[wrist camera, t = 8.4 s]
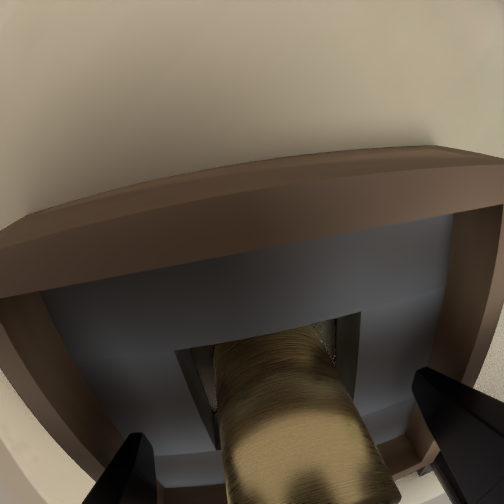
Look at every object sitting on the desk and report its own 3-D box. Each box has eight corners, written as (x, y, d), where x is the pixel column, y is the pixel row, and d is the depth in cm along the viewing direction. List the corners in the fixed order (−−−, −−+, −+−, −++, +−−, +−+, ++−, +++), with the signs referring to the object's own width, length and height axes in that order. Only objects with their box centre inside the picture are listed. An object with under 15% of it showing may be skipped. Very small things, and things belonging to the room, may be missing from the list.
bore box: (401, 411, 14) (432, 462, 11) (154, 466, 13) (152, 527, 10) (436, 145, 9) (523, 163, 5) (25, 216, 8) (-50, 265, 4)
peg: (319, 378, 12) (383, 522, 6) (225, 399, 12) (248, 557, 5) (317, 299, 11) (421, 470, 4) (202, 322, 10) (214, 527, 4)
